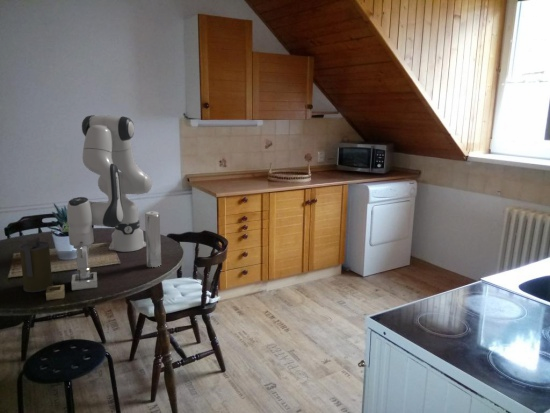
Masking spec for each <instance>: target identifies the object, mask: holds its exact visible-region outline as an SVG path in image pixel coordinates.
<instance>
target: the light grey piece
mask: <svg viewBox="0 0 550 413" xmlns="http://www.w3.org/2000/svg"><path fill="white" fill-rule="evenodd" d="M160 216H161V215H160V213H159V212H158V211H155V210H153V211H152V210H151V211H146V212H145V214H144V226H145V242H146V247H145V249H146V250H145V252H146V267H148V268H151V267H152V268H153V267H155V268H159V267H161V266H162V251H161V250H162V246H161V244H162V243H161V220H160V219H161V217H160ZM160 265H161V266H160ZM158 266H159V267H158Z"/></svg>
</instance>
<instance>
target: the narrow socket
mask: <svg viewBox="0 0 550 413" xmlns="http://www.w3.org/2000/svg"><path fill="white" fill-rule="evenodd" d="M65 289H66V288H65V284H59V285H53V286H49V287H47V290H45V297H46V301H51V300H60V299H64V298H65V296H66V290H65Z"/></svg>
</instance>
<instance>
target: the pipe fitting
mask: <svg viewBox="0 0 550 413" xmlns="http://www.w3.org/2000/svg"><path fill="white" fill-rule="evenodd" d="M76 271H77V274H78V278H79V281H86V280H91V278H90V273H91V267H90V266H89V265H88V268H86V276H81V270H80V269H78V268H77V270H76Z"/></svg>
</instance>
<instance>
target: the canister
mask: <svg viewBox="0 0 550 413" xmlns="http://www.w3.org/2000/svg"><path fill="white" fill-rule="evenodd" d="M18 250H19V257H20V264H21V266H20V267H21V272H22V273H21V274H22V281H23V282H22V283H23V291H24V292H27V293H39V292H43V291H46V290H47V287H49V286H54V282H53V275H52V267H51V266H52V265H51V264H52V263H51V256H50V243H49V242H47V241H43V240H42V241H41V240H40V237H37V236H36V237H35V236H34V237H33V236H32V237H31V238H29V239H27V242H25V243H22V244H21V245H18Z"/></svg>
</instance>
